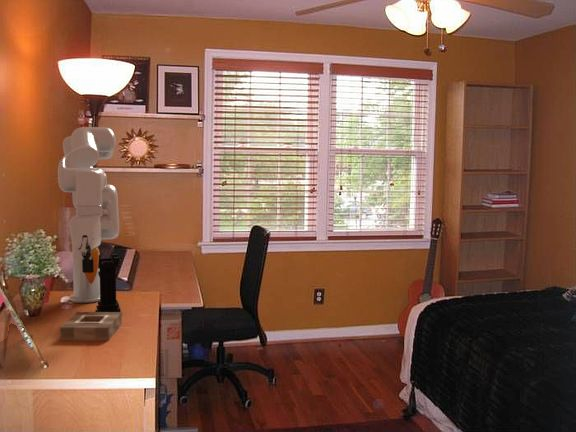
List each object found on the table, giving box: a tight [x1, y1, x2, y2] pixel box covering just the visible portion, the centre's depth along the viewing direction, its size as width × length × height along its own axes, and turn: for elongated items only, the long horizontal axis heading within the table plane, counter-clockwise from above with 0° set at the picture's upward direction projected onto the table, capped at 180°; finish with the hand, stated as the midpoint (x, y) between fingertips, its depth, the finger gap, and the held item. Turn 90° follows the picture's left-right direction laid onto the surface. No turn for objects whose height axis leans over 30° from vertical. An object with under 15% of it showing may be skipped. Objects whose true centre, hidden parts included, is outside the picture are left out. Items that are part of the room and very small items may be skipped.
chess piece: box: [94, 253, 123, 317], centre depth 205 cm, size 8×8×20 cm
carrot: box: [85, 247, 100, 284], centre depth 185 cm, size 5×5×15 cm
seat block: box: [59, 311, 123, 342], centre depth 187 cm, size 16×14×4 cm
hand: (90, 269), depth 185 cm, fingers closed on carrot, 4 cm apart
